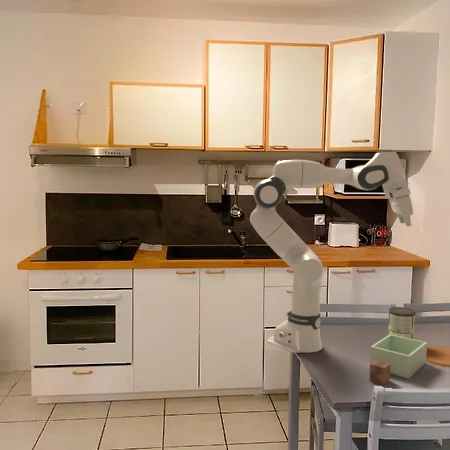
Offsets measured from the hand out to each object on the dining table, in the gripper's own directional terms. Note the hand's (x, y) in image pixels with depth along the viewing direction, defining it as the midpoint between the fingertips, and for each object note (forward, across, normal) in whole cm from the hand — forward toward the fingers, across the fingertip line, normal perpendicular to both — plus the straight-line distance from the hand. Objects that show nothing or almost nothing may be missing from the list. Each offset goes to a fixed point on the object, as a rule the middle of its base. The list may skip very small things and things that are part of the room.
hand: (405, 224), depth 186 cm
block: (+43, +33, -28) cm, 61 cm away
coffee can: (+49, -6, -14) cm, 51 cm away
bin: (+46, +19, -20) cm, 54 cm away
